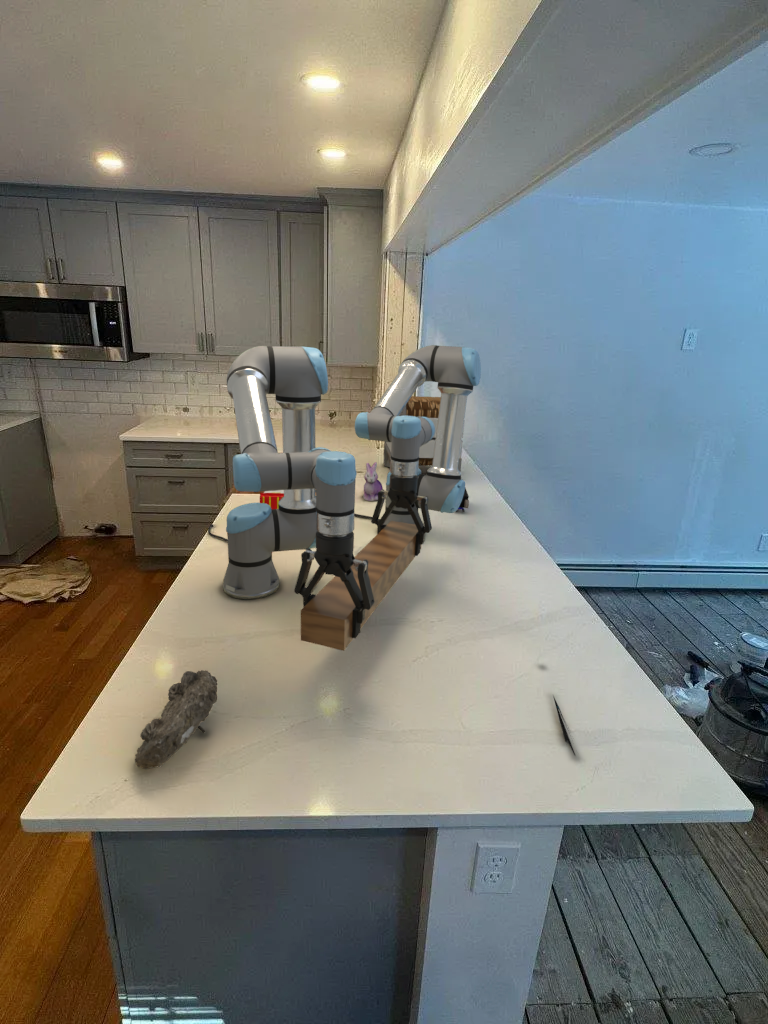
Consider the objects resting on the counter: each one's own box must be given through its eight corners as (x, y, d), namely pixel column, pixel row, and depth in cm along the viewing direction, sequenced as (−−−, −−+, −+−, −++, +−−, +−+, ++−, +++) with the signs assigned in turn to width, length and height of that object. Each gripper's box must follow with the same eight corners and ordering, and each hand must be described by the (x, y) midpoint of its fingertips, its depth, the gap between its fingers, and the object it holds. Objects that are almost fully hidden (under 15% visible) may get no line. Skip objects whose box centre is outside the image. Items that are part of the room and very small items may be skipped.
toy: (300, 481, 221) (289, 494, 192) (300, 514, 224) (289, 533, 194) (268, 480, 221) (253, 493, 191) (269, 514, 223) (254, 532, 194)
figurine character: (469, 517, 223) (463, 501, 236) (471, 500, 219) (465, 484, 233) (452, 516, 222) (447, 500, 236) (454, 499, 219) (449, 483, 232)
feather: (542, 671, 128) (548, 665, 128) (575, 760, 102) (582, 753, 101) (536, 667, 128) (542, 661, 128) (567, 755, 102) (574, 748, 101)
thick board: (389, 543, 167) (391, 520, 164) (421, 548, 164) (423, 525, 161) (300, 640, 116) (300, 610, 114) (344, 650, 113) (344, 620, 111)
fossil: (167, 671, 114) (219, 638, 109) (200, 702, 116) (252, 671, 112) (109, 762, 94) (169, 727, 89) (151, 796, 97) (212, 765, 92)
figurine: (367, 502, 230) (368, 467, 225) (357, 495, 238) (358, 460, 233) (388, 500, 234) (389, 465, 229) (377, 492, 242) (378, 458, 237)
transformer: (382, 463, 289) (386, 382, 275) (445, 464, 293) (451, 384, 279) (390, 482, 257) (394, 392, 243) (460, 483, 261) (468, 394, 247)
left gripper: (275, 528, 112) (277, 626, 119) (381, 547, 105) (376, 651, 112) (293, 516, 118) (294, 610, 126) (394, 533, 111) (389, 632, 119)
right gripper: (360, 472, 152) (358, 548, 160) (440, 483, 145) (434, 563, 153) (370, 465, 159) (368, 539, 167) (447, 476, 152) (441, 552, 160)
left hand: (333, 629), depth 119 cm, fingers closed on thick board, 10 cm apart
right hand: (399, 550), depth 160 cm, fingers closed on thick board, 10 cm apart
